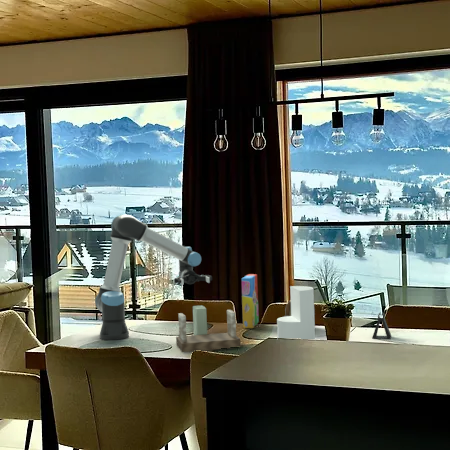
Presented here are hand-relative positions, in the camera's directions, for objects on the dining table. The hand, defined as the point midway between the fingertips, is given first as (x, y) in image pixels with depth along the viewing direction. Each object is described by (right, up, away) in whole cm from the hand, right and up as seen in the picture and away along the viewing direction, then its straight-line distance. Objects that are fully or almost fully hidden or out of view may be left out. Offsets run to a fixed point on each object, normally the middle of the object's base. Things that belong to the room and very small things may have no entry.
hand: (195, 281), depth 390 cm
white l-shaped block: (+48, -28, -40) cm, 69 cm away
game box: (+29, -26, +24) cm, 46 cm away
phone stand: (+92, -26, -23) cm, 98 cm away
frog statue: (+54, -26, +4) cm, 60 cm away
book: (+3, -28, -8) cm, 30 cm away
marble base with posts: (+7, -29, -28) cm, 41 cm away
